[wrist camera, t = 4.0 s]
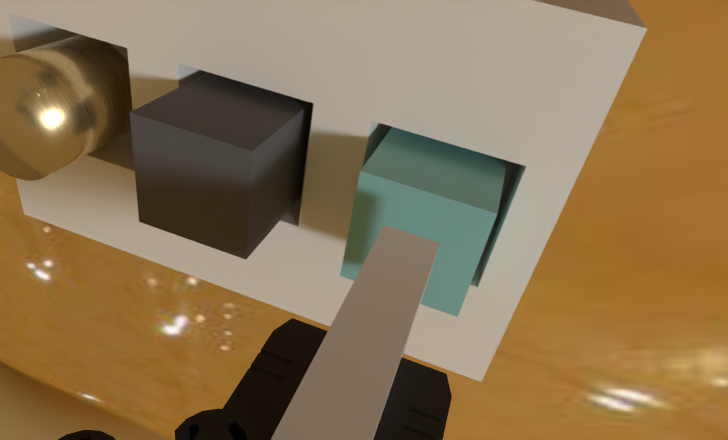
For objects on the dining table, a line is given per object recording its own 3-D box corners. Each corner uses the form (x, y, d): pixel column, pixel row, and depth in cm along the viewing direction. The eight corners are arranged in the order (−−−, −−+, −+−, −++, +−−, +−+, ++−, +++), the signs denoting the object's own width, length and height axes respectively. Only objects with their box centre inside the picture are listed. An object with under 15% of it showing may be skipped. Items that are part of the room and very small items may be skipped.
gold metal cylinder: (49, 23, 20) (-63, 50, 16) (140, 50, 19) (43, 84, 16) (65, 118, 22) (-31, 161, 19) (146, 145, 22) (63, 195, 18)
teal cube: (399, 117, 19) (360, 170, 15) (509, 149, 18) (497, 214, 14) (378, 209, 21) (339, 275, 17) (475, 241, 20) (457, 317, 16)
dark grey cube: (211, 71, 19) (129, 112, 15) (313, 101, 18) (252, 151, 15) (211, 166, 21) (139, 222, 18) (301, 195, 21) (246, 259, 17)
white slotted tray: (59, -137, 21) (-62, -146, 17) (626, -3, 17) (647, 28, 13) (100, 169, 28) (24, 214, 24) (493, 303, 25) (481, 381, 21)
